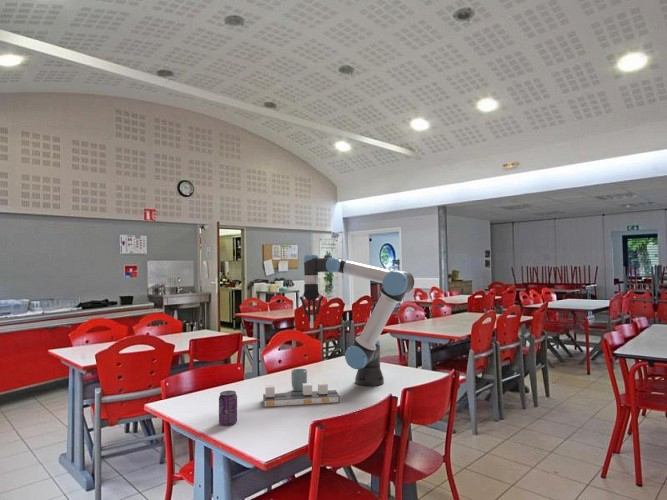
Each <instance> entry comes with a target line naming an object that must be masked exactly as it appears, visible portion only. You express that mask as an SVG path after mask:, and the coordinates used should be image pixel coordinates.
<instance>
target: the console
mask: <svg viewBox="0 0 667 500" xmlns="http://www.w3.org/2000/svg"><path fill="white" fill-rule="evenodd" d="M262 397H263V398H262V399H263V401H262V405H263V407H262V408H272V407H273V408H275V407H292V406H308V405H322V404H324V405H325V404H339V403H340V394H339V393H338V392H337V390H336V389H333V390H328V394H319V393H318V390H315V391H313V390H312V395H303V391H301V392H298V391H295V392H294V391H293V392H279V393H278V392H277V393H276V392H275V397H266V396H265V393H264V394H262Z"/></svg>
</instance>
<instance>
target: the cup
mask: <svg viewBox="0 0 667 500" xmlns="http://www.w3.org/2000/svg"><path fill="white" fill-rule="evenodd" d="M307 370H308V369H306V368H295V369H294V368H293V369H292V370H291V374H290V375H291V387H292V390H293V392H294V391H295V392H303V383H308V371H307Z"/></svg>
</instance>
